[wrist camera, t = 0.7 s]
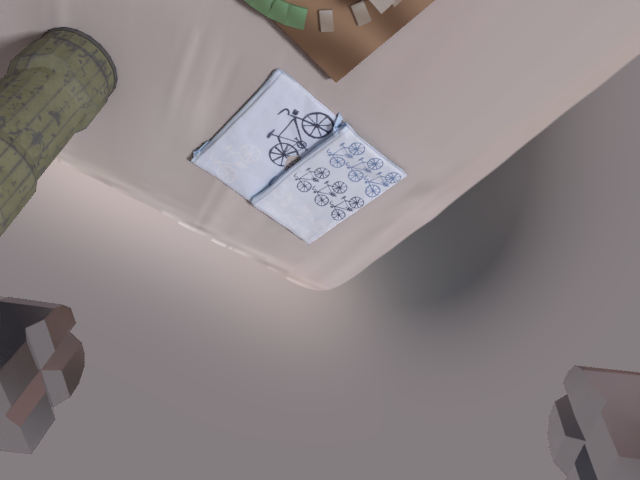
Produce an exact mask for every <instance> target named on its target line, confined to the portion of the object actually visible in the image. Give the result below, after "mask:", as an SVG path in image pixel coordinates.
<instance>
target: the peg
mask: <svg viewBox="0 0 640 480" xmlns="http://www.w3.org/2000/svg"><path fill="white" fill-rule="evenodd" d="M370 2H371V3H372V4H373V5H374V6H375V7H376V8H377V9H378V11H379V12H380V13H381V14H382V13H383V12H384V11H385V10H386V9H388V8H389V7H390V6H391V5H392V4H393V3H394V2H395V0H370Z"/></svg>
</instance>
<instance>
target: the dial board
mask: <svg viewBox="0 0 640 480" xmlns="http://www.w3.org/2000/svg"><path fill="white" fill-rule="evenodd" d="M244 1H245V2H246V3H248V4H249V5H250V6H251V7H253V8H254V9H256V10H257V11H259V12H260V13H262V14H263V15H265V16H266V17H268V18H270V19H272V20H273V21H274V22H275V23H276V24H277V25H278V26H279V27H280V28H281V29H282V30H283V31H284V32H285V33H286V34H287V35H288V36H289V37H290V38H291V39H292V40H293V41H294V42H295V43H296V44H297V45H299V46H300V47H301V48H302V49H303V50H304V51H305V52H306V53H307V54H308V55H309V56H310V57H311V58H312V59H313V60H314V61H315V62H316V63H317V64H318V65H319V66H320V67H321V68H322V69H323V70H324V71H325V72H326V73H327V74H328V75H329V76H330V77H331V78H332V79H333V80H334V81H335V82H338V81H339V80H340V79H341V78H342V77H344V76H345V75H346V74H347V73H348V72H350V71H351V70H352V69H353V68H354V67H356V66H357V65H358V64H359V63H360V62H361V61H363V60H364V59H365V58H366V57H367V56H369V55H370V54H371V53H372V52H373V51H375V50H376V49H377V48H378V47H379V46H381V45H382V44H383V43H384V42H385V41H387V40H388V39H389V38H390V37H391V36H393V35H394V34H395V33H396V32H397V31H399V30H400V29H401V28H402V27H403V26H405V25H406V24H407V23H408V22H409V21H411V20H412V19H413V18H414V17H415V16H416V15H418V14H419V13H420V12H421V11H422V10H424V9H425V8H426V7H427V6H428V5H430V4H431V3H432V2H433V1H434V0H395V2H394V3H393V4H392V5H391V6H390V7H389V8H388V9H386V10H385V11H384V12H383V13H382V14H381V13H380V12H379V11H378V9H377V8H376V7H375V6H374V5H373V4H372V3H371V2H370V0H244Z"/></svg>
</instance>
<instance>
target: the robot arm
mask: <svg viewBox="0 0 640 480" xmlns="http://www.w3.org/2000/svg"><path fill="white" fill-rule="evenodd" d="M75 324H76V321H75V319H74V316H73V313H72V310H71V308H70V307H67V306H64V305H61V304H55V303H47V302H41V301H34V300H27V299H20V298H13V297H1V296H0V451H7V452H15V453H24V454H32V453H33V451H34V450H35V448H36V447H37V445H38V444H39V443H40V441H41V440H42V438H43V437H44V435H45V434H46V432H47V431H48V429H49V427H50V426H51V425H52V423H53V422H54V421H55V413H54V406H56V405H58V404H59V403H61V402H63V401H65V400H66V399H68V398H70V396H71V395H72V393H73V392H74V390H75V389H76V387H77V385H78V384H79V381H80V379H81V376H82V372H83V369H84V363H85V361H84V360H85V359H84V358H85V356H84V355H85V353H84V350H83V346H82V342H81V341H79V340H78V339H77V338H76V337H75V336H74V335H73V334H72V333H71V332H70V331H71V330H72V328H73V327H74V325H75ZM563 383H564V386H565V389H566V392H567V395H565V396H564V397H562V398H560V399H559V400H557V401H555V402H554V405H553V408H552V410H551V413H550V416H549V424H548V440H549V448H550V451H551V455H552V458H553V462H554V463H555V464H556V465H557V466H558V467H559V468H560V469H561V470H562V471H563V472H564V474H565V475H566V476H567V479H566V480H640V373H638V372H630V371H622V370H613V369H603V368H594V367H585V366H576V365H575V366H573V367H572V368H571V369H570V370H569V371H568V373H567V375H566V377H565V380H564V382H563Z"/></svg>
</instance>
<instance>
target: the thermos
mask: <svg viewBox="0 0 640 480" xmlns="http://www.w3.org/2000/svg"><path fill="white" fill-rule="evenodd" d="M117 79H118V78H117V72H116V67H115V65H114V63H113V61H112V59H111V57H110V55H109V54H108V53H107V52H106V50H105V49H104V48H103V47H102V45H100V44H99V43H98V42H97V41H96V40H94V39H93V38H92V37H91V36H89V35H87V34H85V33H83V32H81V31H79V30H76V29H72V28H67V27H60V28H53V29H51V30H50V31H48V32H46V33H45V34H44V35H42V37H41V38H39V39H38V40H36V41H34V42H32V43H31V44H30V45H29V46H27V47H26V48H25V49H24V50H23V51H22V52H21V53H20V54H18V55H17V56H16V57H15V58H14V59H13V60H12V61H11V62H10V64H9V67H8V71H7V74H6V75H5V76H4V77H3V78H2V79H1V80H0V236H1V235H2V234H3V233H4V231H5V230H6V229H7V228H8V226H9V225H10V224H11V222H12V221H13V220H14V219H15V217H16V216H17V215H18V214H19V212H20V211H21V210H22V208H23V207H24V206H25V205H26V203H27V202H28V201H29V199H30V198H31V197H32V196H33V194H34V193H35V192H36V185H37V180H38V179H39V178H40V176H41V175H42V174H43V173H44V171H45V170H46V169H47V167H48V166H49V165H50V164H51V162H52V161H53V160H54V159H55V157H56V156H57V155H58V154H59V152H60V151H61V150H62V149H63V147H64V146H65V145H66V144H67V142H68V141H69V140H70V139H71V137H72V136H73V135H74V134H75V133H77V132H79V131H81V130H84V129H86V128H87V126H88V125H89V124H90V123H91V121H92V120H93V119H94V118H95V116H96V115H97V114H98V112H99V111H100V110H101V109H102V107H103V106H104V105H105V103H106V102H107V100H108V97H109V96H110V94H111V93H112V92H113V91H114V89H115V88H116V84H117Z"/></svg>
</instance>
